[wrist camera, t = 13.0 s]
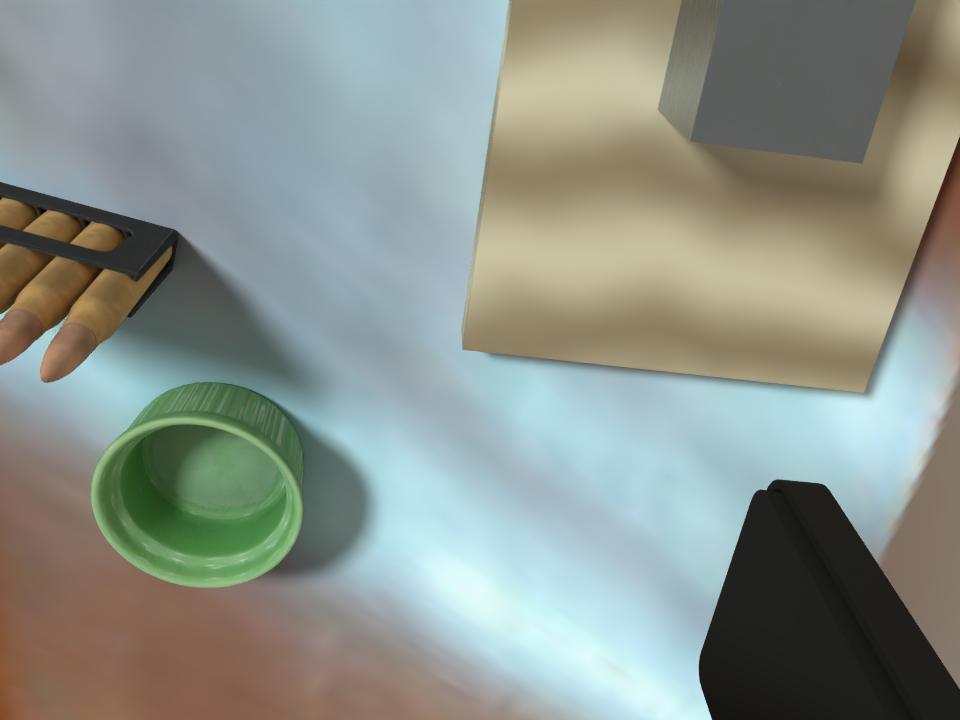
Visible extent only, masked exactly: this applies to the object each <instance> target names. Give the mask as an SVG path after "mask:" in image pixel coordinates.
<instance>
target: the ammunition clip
mask: <svg viewBox="0 0 960 720" xmlns="http://www.w3.org/2000/svg"><path fill="white" fill-rule="evenodd" d="M178 235H179V234H178V233H177V232H176V230H174V229H170V228H167V227H163V226H159V225H156V224H152V223H148V222H145V221H141V220H137V219H134V218H130V217H126V216H123V215H119V214H115V213H112V212H108V211H104V210H101V209H97V208H93V207H90V206H86V205H82V204H79V203H75V202H71V201H68V200H64V199H60V198H57V197H53V196H49V195H46V194H42V193H38V192H35V191H31V190H27V189H24V188H20V187H16V186H13V185H9V184H5V183H2V182H0V314H2V313H4V312H5V311H7V310H8V309H9V308H10V307H11V306H12V305H13V304H14V305H13V306H12V307H11V309H10V310H9V311H8V312H7V313H6V314H5V316H4V318H3V319H2V320H1V321H0V365H2V364H5V363H7V362H9V361H11V360H13V359H14V358H16V357H17V356H19V355H20V354H21V353H23V352H24V351H25V350H26V349H27V348H28V347H29V346H30V345H31V344H32V343H33V342H34V341H35V340H37V339H38V338H39V337H41V336H42V335H43V334H44V333H45V332H46V331H47V330H49V329H51V328H53V327H55V326H56V325H58V324H59V323H60V322H61V321H62V320H63V319H64V318H65V317H66V316H67V315H68V313H69V315H68V318H67V320H66V321H65V323H64V324H63V325H62V327H61V328H60V330H59V332H58V333H57V335H56V336H55V337H54V338H53V340H52V341H51V343H50V345H49V346H48V348H47V350H46V352H45V355H44V358H43V361H42V364H41V368H40V375H41V380H42V381H43V382H53V381H56V380H59V379H61V378H63V377H64V376H66V375H68V374H69V373H71V372H72V371H74V370H75V369H76V368H77V367H78V366H79V365H80V364H81V363H82V362H83V361H84V360H85V359H86V358H87V357H88V356H89V354H90V353H92V352H93V351H94V350H95V349H96V347H97V346H98V345H99V344H100V343H102V342H103V341H105V340H106V339H108V338H109V337H110V336H111V335H112V334H113V333H114V332H115V331H116V330H117V328H118V327H119V326H120V324H121V323H122V322H123V320H124V319H125V318H126V317H132V316H133V315H134V314H135V313H136V311H137V310H138V309H139V308H140V307H141V306H142V304H143V303H144V302H145V301H146V300H147V299H148V298H149V296H150V295H151V294H152V293H153V292H154V291H155V289H156V288H157V287H158V286H159V285H160V284H161V283H162V281H163V280H164V279H165V278H166V277H167V276H168V274H169V273H170V272H171V271H172V269H173V263H174V258H175V252H176V247H177V241H178Z"/></svg>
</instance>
